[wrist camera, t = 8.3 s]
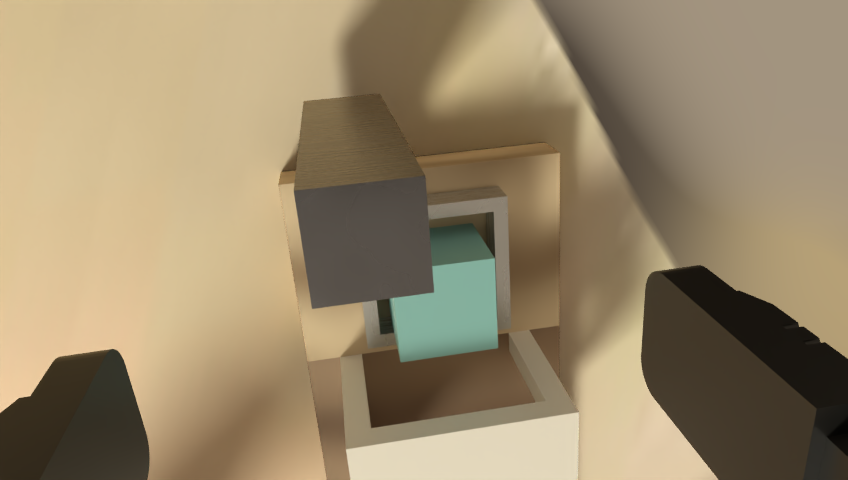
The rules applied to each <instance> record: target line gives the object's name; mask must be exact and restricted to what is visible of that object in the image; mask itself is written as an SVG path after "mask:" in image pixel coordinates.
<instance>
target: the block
mask: <svg viewBox="0 0 848 480" xmlns="http://www.w3.org/2000/svg"><path fill="white" fill-rule="evenodd" d="M429 230H430V243H431V256H432V269H433V283H434V293H427V294H420V295H412V296H405V297H397V298H390V299H389V307H390V316H391V321H392V325H393V330H394V334H395V339H396V344H397V348H398V353H399V357H400V362H407V361H414V360H421V359H428V358H434V357H441V356H448V355H455V354H462V353H469V352H475V351H482V350H489V349H496V348H498V332H497V304H496V277H495V258H494V256H493V255H492V253H491V252H490V250H489V248H488V247H487V245H486V244H485V242H484V241H483V239H482V238H481V236H480V234H479V233H478V231H477V230H476V228H475V227H474V225H473V224H472V223H468V224H460V225H452V226H444V227H436V228H429Z"/></svg>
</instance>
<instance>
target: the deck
mask: <svg viewBox="0 0 848 480" xmlns="http://www.w3.org/2000/svg"><path fill="white" fill-rule="evenodd" d="M415 158H416V160H417V162H418V163H419V165H420V167H421V169H422V171H423V172H424V174H425V178H426V191H427V194H432V193H441V192H449V191H458V190H466V189H475V188H483V187H491V186H499V187H500V188H501V189H502V191H503V192H504V193H505V194H506V195H507V198H508V234H509V271H510V307H511V328H509V329H502V330H497V332H498V348H496V349H489V350H482V351H475V352H469V353H462V354H455V355H448V356H441V357H434V358H428V359H421V360H414V361H407V362H400V357H399V353H398V348H397V345H391V346H384V347H377V348H370V349H368V345H367V338H366V330H365V322H364V314H363V306H362V302H360V303H353V304H346V305H338V306H331V307H324V308H316V309H312V306H311V299H310V293H309V287H308V280H307V274H306V267H305V261H304V254H303V248H302V242H301V235H300V229H299V222H298V216H297V210H296V203H295V197H294V183H295V174H296V170H294V171H285V172H281V174H280V179H279V191H280V197H281V203H282V209H283V216H284V222H285V228H286V234H287V240H288V246H289V252H290V258H291V264H292V270H293V276H294V282H295V288H296V294H297V301H298V307H299V313H300V319H301V325H302V331H303V337H304V343H305V349H306V355H307V361H308V367H309V373H310V380H311V386H312V392H313V398H314V404H315V410H316V416H317V422H318V428H319V434H320V440H321V446H322V452H323V458H324V465H325V471H326V477H327V480H350V474H349V467H348V460H347V453H346V443H345V426H344V410H343V394H342V377H341V361H340V357H345V356H352V355H358V354H362V359H363V367H364V375H365V383H366V390H367V398H368V406H369V414H370V422H371V428H376V427H383V426H389V425H395V424H402V423H408V422H414V421H421V420H427V419H434V418H440V417H446V416H453V415H459V414H465V413H472V412H478V411H485V410H491V409H497V408H504V407H510V406H516V405H523V404H529V403H535V400H534V398H533V396H532V394H531V392H530V390H529V388H528V386H527V384H526V382H525V380H524V378H523V377H522V375H521V373H520V371H519V369H518V367H517V365H516V363H515V361H514V359H513V357H512V355H511V353H510V352H509V333H511V332H518V331H525V330H529V331H530V332H531V334H532V336H533V337H534V339H535V341H536V342H537V344H538V345H539V347H540V349H541V350H542V352H543V354H544V355H545V357H546V359H547V360H548V362H549V364H550V365H551V367H552V368H553V370H554V372H555V373H556V375H557V377H558V378H559V287H560V153H559V152H558V151H557V150H555V149H554V148H552V147H551V146H550V145H548V144H547V143H536V144H527V145H518V146H509V147H500V148H491V149H482V150H473V151H464V152H455V153H446V154H437V155H428V156H419V157H415ZM468 223H472V224H473V225H474V227H475V228H476V230H477V231H478V233H479V234H480V236H481V238H482V239H483V241H484V242H485V244H486V245H487V234H486V213H479V214H471V215H463V216H454V217H446V218H438V219H430V220H429V228H436V227H444V226H452V225H460V224H468ZM376 301H377V309H378V318H384V317H391V316H390V307H389V299H383V300H376Z"/></svg>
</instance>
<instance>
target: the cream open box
mask: <svg viewBox="0 0 848 480" xmlns="http://www.w3.org/2000/svg"><path fill="white" fill-rule="evenodd" d="M509 352H510V353H511V355H512V357H513V359H514V361H515V363H516V365H517V367H518V369H519V371H520V373H521V375H522V377H523V378H524V380H525V382H526V384H527V386H528V388H529V390H530V392H531V394H532V396H533V398H534V400H535V403H529V404H523V405H516V406H510V407H504V408H497V409H491V410H485V411H478V412H472V413H465V414H459V415H453V416H446V417H440V418H434V419H427V420H421V421H414V422H408V423H402V424H395V425H389V426H383V427H376V428H371V422H370V414H369V406H368V398H367V390H366V383H365V375H364V367H363V359H362V354H358V355H352V356H345V357H340V361H341V377H342V394H343V410H344V426H345V443H346V453H347V460H348V467H349V474H350V480H578V445H579V411H578V410H577V408H576V406H575V405H574V403H573V401H572V400H571V398H570V396H569V395H568V393H567V391H566V390H565V388H564V387H563V385H562V383H561V382H560V380H559V378H558V377H557V375H556V373H555V372H554V370H553V368H552V367H551V365H550V364H549V362H548V360H547V359H546V357H545V355H544V354H543V352H542V350H541V349H540V347H539V345H538V344H537V342H536V341H535V339H534V337H533V336H532V334H531V332H530V331H529V330H525V331H518V332H511V333H509Z"/></svg>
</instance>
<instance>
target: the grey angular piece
mask: <svg viewBox="0 0 848 480" xmlns="http://www.w3.org/2000/svg"><path fill="white" fill-rule="evenodd" d="M294 197H295V203H296V210H297V216H298V222H299V229H300V235H301V242H302V248H303V254H304V261H305V267H306V274H307V280H308V287H309V293H310V299H311V306H312V309H316V308H324V307H331V306H338V305H346V304H353V303H360V302H362V306H363V314H364V322H365V330H366V338H367V345H368V349H370V348H377V347H384V346H391V345H397V344H396V339H395V334H394V330H393V325H392V321H391V317H384V318H378V309H377V301H376V300H383V299H390V298H397V297H405V296H412V295H420V294H427V293H434V283H433V269H432V256H431V243H430V230H429V220H430V219H438V218H446V217H454V216H463V215H471V214H479V213H486V234H487V247H488V248H489V250H490V252H491V253H492V255H493V256H494V258H495V277H496V304H497V330H502V329H509V328H511V307H510V271H509V234H508V198H507V195H506V194H505V193H504V192H503V191H502V189H501V188H500V187H499V186H491V187H483V188H475V189H466V190H458V191H449V192H441V193H432V194H427V191H426V178H425V174H424V172H423V171H422V169H421V167H420V165H419V163H418V162H417V160H416V158H415V156H414V154H413V153H412V151H411V149H410V147H409V145H408V144H407V142H406V140H405V138H404V136H403V135H402V133H401V131H400V129H399V127H398V126H397V124H396V122H395V120H394V119H393V117H392V115H391V113H390V111H389V110H388V108H387V106H386V104H385V102H384V101H383V99H382V97H381V95H380V94H371V95H361V96H351V97H341V98H331V99H321V100H311V101H304V104H303V112H302V121H301V130H300V139H299V147H298V156H297V165H296V174H295V183H294Z"/></svg>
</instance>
